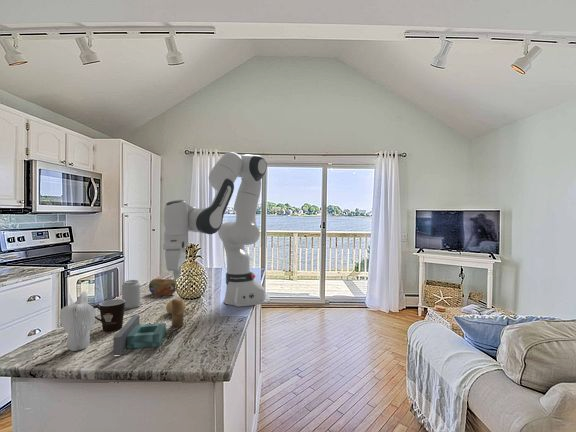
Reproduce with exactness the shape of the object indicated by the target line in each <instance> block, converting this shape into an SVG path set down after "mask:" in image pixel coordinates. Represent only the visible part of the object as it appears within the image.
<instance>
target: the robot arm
mask: <svg viewBox="0 0 576 432" xmlns="http://www.w3.org/2000/svg"><path fill="white" fill-rule="evenodd" d="M267 165H268V164H267V161H266V159H265V157H263V156H261V155H259V154H247V153H246V154H238V153H236V152H233V151H227V152H226V153H224V154H223V155H222V156H221V157H220V159H219V160H218V161H217V162H216V163H215V165H214V166H213V167H212V169H211V171H210V172H209V175H208V182H209V184H210V186H211V187H212V188H213V189H214V190H215V191H216V194H215V196H214V198H213V200H212V202H211V204H210V205H209V206H208V207H205V208H196V207H195V206H192V205H191V204H189V203H187V201H186V200H184V199H178V200H177V199H176V200H171V201H168V202H167V203H166V204H165V206H164V211H163V225H164V234H163V239H164V240H163V245H162V248H163V250H164V256H165V266H166V267H165V268H166V270H167V271H168V272H169V271H170V272H172V273H173V279H174V280H178V279H179V278H180V277H181V270H182V265H184V264H185V262H186V260H187V259H186V247H189V245H190V244H189V242H190V241H189V232H191V233H192V232H193V233H199V234H200V233H201V234H207V235H214V234H216V233H217V232H218V234H217V235H218V237H219V239H220V240H221V241H222V245H223V247H224V251H225V257H226V273H225V284H226V287H225V295H224V299H223V303H224V304H226V305H229V306H230V305H231V306H234V307H239V308H240V307H248V306H249V307H250V306H257V305H266V304H269V303H270V302H271V298H270V296H269V295H268V294H266V290H265V288H264V285H262V284H261V283H259V282H258V281H257V280H256V279H255V278H256V275H255V273H253V271H250V269H251V268H250V267H251V265H250V264H251V263H250V262H251V261H250V260H251V259H250V255H249V253H248V252H247V250H246V247H245V246H250V245H254V244H256V243H257V242H258V241H259V238H260V229H259V227H258V226H257V221H256V220H257V218H256V214H257V213H256V212H257V208H258V205H259V204H258V203H259V199H260V197H261V196H260V195H261V191H262V178H264V175H265V174H266V172H267V169H268V167H267ZM238 178H240V179H241V181H240V184H239V187H238V189H237V194H236V197H235V201H234V204H233V210H234V211H235V216H236V217H235V221H226V222H223V219H224V216H225V213H226V210H227V208H228V206H229V203H230V201H231V198H232V196H233V194H234V190H235V182H236V180H237V179H238Z"/></svg>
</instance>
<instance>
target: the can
mask: <svg viewBox="0 0 576 432" xmlns="http://www.w3.org/2000/svg"><path fill="white" fill-rule="evenodd" d="M121 299H123V300H125V307H124V310H126V309H127V310H130V309H136V308H138V307H139V306H140V305H141V283H139V280H138V279H128V280H125V281H123V284H122V285H121Z"/></svg>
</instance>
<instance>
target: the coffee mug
mask: <svg viewBox="0 0 576 432" xmlns="http://www.w3.org/2000/svg"><path fill="white" fill-rule="evenodd" d="M93 307H94V309H98V310H99V313H100V318H99V317H97V315H96V316H95V320H97V321H99V322H100V323H101V327H102V331H103V332H104V333H112V332H116V331H120V330H121V329H122V327H123V323H124V314H125V308H124V307H125V300H123V299H122V298H114V299H108V300H104V301H100V302H99V304H98V305H95V306H93Z"/></svg>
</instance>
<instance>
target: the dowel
mask: <svg viewBox="0 0 576 432" xmlns="http://www.w3.org/2000/svg"><path fill="white" fill-rule="evenodd" d="M171 300H172V299H171ZM183 301H184V299H183V298H180V299H175V298H173V300H172V314H171V327H172V328H175V329H176V328H182V327H183V326H184V312H183Z"/></svg>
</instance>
